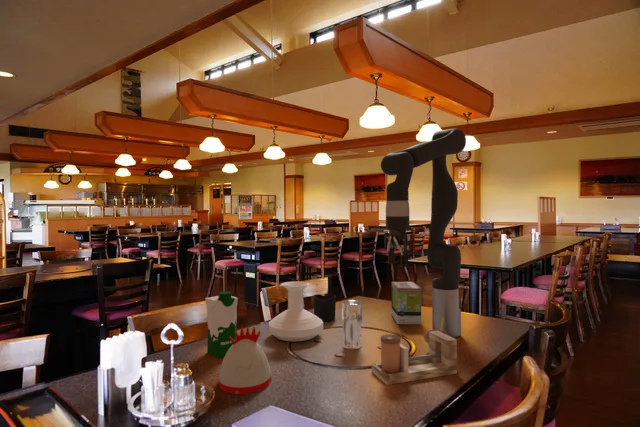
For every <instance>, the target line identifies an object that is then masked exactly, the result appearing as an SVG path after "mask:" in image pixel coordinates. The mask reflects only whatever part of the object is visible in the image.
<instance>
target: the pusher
mask: <svg viewBox="0 0 640 427" xmlns="http://www.w3.org/2000/svg"><path fill="white" fill-rule="evenodd" d="M435 357H441V353H437V354H430V355H429V354H424V355H417V356H410V357H409V348H408V347H406V346H405V345H404V344H402V343H400V372H406V371H408V361H414V360H421V359H428V358H435Z"/></svg>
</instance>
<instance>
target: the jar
mask: <svg viewBox="0 0 640 427" xmlns="http://www.w3.org/2000/svg"><path fill="white" fill-rule="evenodd" d="M400 344H401V337H400V336H399V335H396V334H383V335H380V363H381V369H382V370H383V371H384V372H386V373H387V374H393V373H400Z"/></svg>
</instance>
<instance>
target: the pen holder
mask: <svg viewBox="0 0 640 427" xmlns="http://www.w3.org/2000/svg"><path fill="white" fill-rule="evenodd" d="M336 299H337V296H336V295H335V294H329V295H323V294H314V295H313V298H312V300H313V301H312V302H313V314H314V315H316V316H317V317H318V318H320V319H321V320H322V321H323V324H324V323H326V322H327V323H332V322H335V320H336V310H337V309H336V305H337V304H336V302H337V300H336ZM327 323H326V324H327Z"/></svg>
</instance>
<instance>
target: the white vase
mask: <svg viewBox="0 0 640 427" xmlns="http://www.w3.org/2000/svg"><path fill="white" fill-rule="evenodd" d="M280 284H281V286H282V287H284V288H285V289H286V290H287V301H288V302H287V309H285V310H284V311H282V312H280V313H279V314H278V315H276V316H274V317H273V318H272V319H271V320H269V321H268V332H269V333H270V334H271V335H273V336H274V337H276V339H278V340H281V341H286V342H303V341H304V342H305V341H308V340H312V339H314V338H315V337H317V336H318V335H319V334H320V333H322V331H323V330H324V323H323V321H322V320H321V319H320V318H318V317H317V316H316V315H314V313H312V312H310V311H308V310H306V309H305V308H304V289H306V288H307V287H308V286H309V285H310V282H307V281H302V280H301V281H293V280H292V281H285V282H282V283H280Z"/></svg>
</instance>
